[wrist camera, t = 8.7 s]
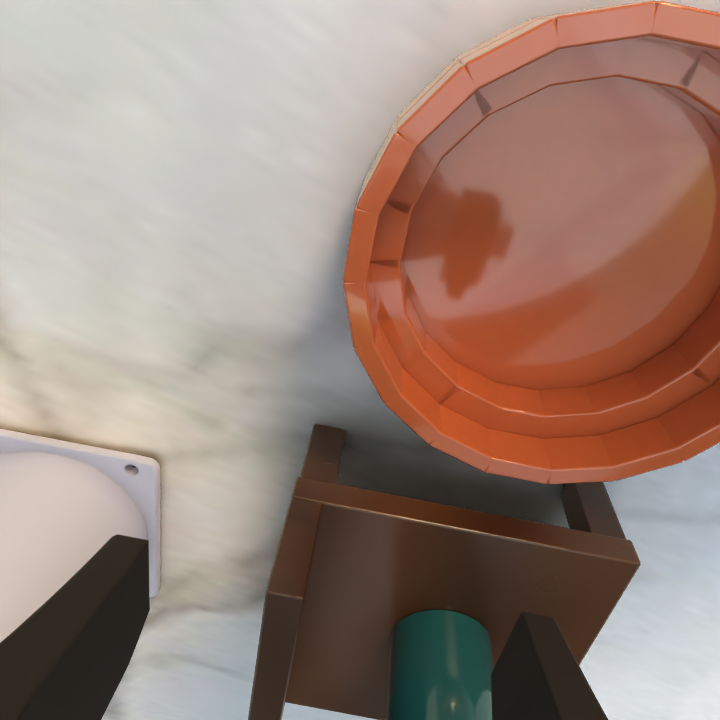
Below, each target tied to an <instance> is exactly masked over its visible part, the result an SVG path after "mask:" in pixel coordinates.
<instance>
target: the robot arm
mask: <svg viewBox="0 0 720 720" xmlns="http://www.w3.org/2000/svg"><path fill="white" fill-rule="evenodd" d="M131 465H133V466H135V467H136V468H137V469H136V468H133V467H132V466H131ZM160 553H161V468H160V465H159V464H158V462H157V461H156V460H154V459H153V458H150V457H146V456H141V455H135V454H130V453H125V452H120V451H115V450H109V449H104V448H99V447H94V446H89V445H83V444H78V443H73V442H68V441H63V440H57V439H52V438H47V437H42V436H37V435H31V434H26V433H21V432H16V431H10V430H5V429H0V720H101V719H102V717H103V715H104V713H105V711H106V709H107V707H108V705H109V703H110V701H111V699H112V697H113V695H114V693H115V691H116V689H117V687H118V685H119V683H120V681H121V679H122V677H123V675H124V673H125V671H126V669H127V667H128V665H129V662H130V660H131V657H132V654H133V652H134V649H135V647H136V644H137V642H138V639H139V636H140V634H141V631H142V628H143V626H144V623H145V620H146V618H147V615H148V612H149V610H150V606H149V598H153V597H155V596H157V594H158V592H159V590H160ZM491 698H492V720H608V718H607V717H606V715H605V713H604V711H603V709H602V708H601V706H600V704H599V702H598V700H597V699H596V697H595V695H594V693H593V691H592V689H591V687H590V686H589V684H588V682H587V680H586V678H585V676H584V674H583V672H582V671H581V669H580V667H579V665H578V663H577V661H576V659H575V657H574V655H573V653H572V651H571V649H570V648H569V646H568V644H567V642H566V640H565V638H564V636H563V634H562V632H561V630H560V628H559V626H558V624H557V622H556V621H555V619H554V618H553V617H549V616H544V615H539V614H534V613H528V612H523V611H522V612H521V614H520V616H519V618H518V620H517V622H516V624H515V626H514V628H513V630H512V632H511V634H510V636H509V638H508V640H507V642H506V644H505V646H504V649H503V651H502V653H501V655H500V657H499V659H498V661H497V663H496V665H495V667H494V669H493V671H492V673H491Z"/></svg>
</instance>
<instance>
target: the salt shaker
mask: <svg viewBox="0 0 720 720" xmlns="http://www.w3.org/2000/svg"><path fill="white" fill-rule="evenodd" d="M494 667H495V666H494V658H493V650H492V641H491V638H490V635H489V633H488V631H487V630H486V629H485V627H484V626H483V625H482V624H480V623H479V622H478V621H477V620H475V619H473V618H471V617H469V616H467V615H465V614H462V613H459V612H455V611H449V610H425V611H420V612H417V613H413V614H411V615H409V616H407V617H405V618H403V619H402V620H400V621H399V622H398V623H397V624H396V625H395V626H394V628H393V629H392V631H391V633H390V636H389V648H388V669H387V690H386V712H385V720H492V698H491V673H492V671H493V669H494Z"/></svg>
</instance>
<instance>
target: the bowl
mask: <svg viewBox="0 0 720 720" xmlns="http://www.w3.org/2000/svg"><path fill="white" fill-rule="evenodd" d="M343 288H344V294H345V300H346V307H347V313H348V319H349V325H350V331H351V337H352V343H353V346H354V350H355V352H356V354H357V356H358V357H359V359H360V361H361V363H362V365H363V367H364V368H365V370H366V372H367V374H368V376H369V377H370V379H371V381H372V383H373V385H374V387H375V388H376V390H377V392H378V394H379V396H380V398H381V399H382V401H383V402H384V403H385V405H386V406H387V407H388V408H389V409H390V410H392V411H393V412H394V413H395V414H396V415H397V416H398V417H399V418H400V419H401V420H402V421H403V422H404V423H406V424H407V425H408V426H409V427H410V428H411V429H412V430H413V431H414V432H415V433H416V434H417V435H418V436H420V437H421V438H422V439H423V440H424V441H425V442H426V443H427V444H429V445H430V446H431V447H433V448H436V449H438V450H440V451H442V452H444V453H446V454H448V455H450V456H452V457H454V458H456V459H458V460H460V461H462V462H464V463H466V464H468V465H470V466H472V467H474V468H476V469H479V470H481V471H483V472H484V471H485V472H486V473H490V474H496V475H501V476H506V477H511V478H516V479H521V480H527V481H532V482H537V483H542V484H547V483H548V484H567V483H587V482H608V481H614V480H621V479H625V478H628V477H632V476H635V475H639V474H642V473H646V472H649V471H653V470H657V469H660V468H664V467H667V466H671V465H674V464H678V463H681V462H683V460H684V461H686V460H688V459H690V458H692V457H694V456H696V455H697V454H699V453H701V452H703V451H705V450H707V449H709V448H710V447H712V446H714V445H716V444H718V443H720V13H718V12H713V11H708V10H703V9H698V8H693V7H688V6H684V5H679V4H674V3H669V2H664V1H647V2H638V3H630V4H621V5H612V6H606V7H599V8H593V9H587V10H581V11H574V12H568V13H562V14H555V15H549V16H543V17H537V18H532V19H531V20H526V21H524V22H522V23H521V24H519V25H517V26H515V27H513V28H511V29H509V30H507V31H505V32H503V33H501V34H499V35H498V36H496V37H494V38H492V39H490V40H488V41H486V42H484V43H482V44H480V45H478V46H477V47H475V48H473V49H471V50H469V51H467V52H465V53H463V54H461V55H459V56H458V57H457V58H456V59H454V60H453V61H452V62H451V63H450V64H449V65H448V66H447V67H446V68H445V69H444V70H443V71H442V72H441V73H440V74H439V75H438V76H437V77H436V78H435V79H434V80H433V81H432V82H431V83H430V84H429V85H428V86H427V87H426V88H425V89H424V90H423V91H422V92H421V93H420V94H419V95H418V96H417V97H416V98H415V99H414V100H413V101H412V102H411V103H410V104H409V105H408V106H407V107H406V108H405V109H404V110H403V111H402V112H401V113H400V115H399V116H398V117H397V119H396V120H395V122H394V124H393V126H392V128H391V130H390V132H389V134H388V136H387V138H386V140H385V141H384V143H383V145H382V147H381V149H380V151H379V153H378V155H377V157H376V159H375V160H374V162H373V164H372V166H371V168H370V170H369V172H368V174H367V176H366V178H365V181H364V184H363V187H362V189H361V192H360V195H359V198H358V201H357V204H356V207H355V210H354V215H353V221H352V227H351V233H350V239H349V245H348V251H347V256H346V262H345V268H344V274H343Z"/></svg>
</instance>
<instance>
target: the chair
mask: <svg viewBox="0 0 720 720" xmlns="http://www.w3.org/2000/svg"><path fill="white" fill-rule="evenodd" d="M345 434H346V431H345V430H342V429H337V428H332V427H326V426H321V425H314V427H313V430H312V434H311V438H310V442H309V446H308V450H307V453H306V457H305V461H304V465H303V469H302V472H301V476H300V477H297V479H296V482H295V486H294V490H293V493H292V497H291V501H290V504H289V508H288V512H287V515H286V519H285V523H284V527H283V530H282V534H281V538H280V541H279V545H278V549H277V553H276V556H275V560H274V564H273V567H272V571H271V575H270V579H269V582H268V586H267V590H266V595H265V602H264V609H263V616H262V624H261V631H260V638H259V645H258V652H257V659H256V666H255V674H254V681H253V688H252V695H251V702H250V709H249V716H248V720H282V715H283V710H284V705H285V702H287V703H293V704H298V705H303V706H309V707H314V708H319V709H324V710H330V711H335V712H340V713H346V714H351V715H356V716H362V717H367V718H372V719H378V720H385V712H386V690H387V669H388V648H389V636H390V633H391V631H392V629H393V628H394V626H395V625H396V624H397V623H398V622H399V621H400V620H402V619H403V618H405V617H407V616H409V615H411V614H413V613H417V612H420V611H425V610H449V611H455V612H459V613H462V614H465V615H467V616H469V617H471V618H473V619H475V620H477V621H478V622H479V623H480V624H482V625H483V626H484V627H485V629H486V630H487V631H488V633H489V635H490V638H491V641H492V650H493V658H494V666H495V665H496V663H497V661H498V659H499V657H500V655H501V653H502V651H503V649H504V646H505V644H506V642H507V640H508V638H509V636H510V634H511V632H512V630H513V628H514V626H515V624H516V622H517V620H518V618H519V616H520V614H521V612H522V611H523V612H528V613H534V614H539V615H544V616H549V617H553V618H554V619H555V621H556V622H557V624H558V626H559V628H560V630H561V632H562V634H563V636H564V638H565V640H566V642H567V644H568V646H569V648H570V649H571V651H572V653H573V655H574V657H575V659H576V661H577V663H578V665H580V663H581V661H582V660H583V658H584V657H585V655H586V653H587V652H588V650H589V648H590V647H591V645H592V643H593V642H594V640H595V638H596V637H597V635H598V634H599V632H600V630H601V629H602V627H603V625H604V624H605V622H606V620H607V619H608V617H609V615H610V614H611V612H612V611H613V609H614V607H615V606H616V604H617V602H618V601H619V599H620V597H621V596H622V594H623V592H624V591H625V589H626V587H627V586H628V584H629V583H630V581H631V579H632V578H633V576H634V574H635V573H636V571H637V569H638V568H639V566H640V560H639V558H638V555H637V553H636V551H635V548H634V546H633V543H632V542H631V541H630V540H627V539H626V538H625V535H624V533H623V530H622V528H621V525H620V523H619V520H618V518H617V515H616V513H615V511H614V508H613V506H612V503H611V501H610V498H609V496H608V493H607V491H606V489H605V486H604V484H603V482H587V483H567V484H566V485H565V488H564V490H563V492H562V494H561V496H560V498H561V501H562V505H563V508H564V511H565V514H566V518H567V521H568V524H569V528H570V529H569V528H564V527H559V526H554V525H548V524H543V523H538V522H533V521H528V520H522V519H517V518H512V517H507V516H502V515H496V514H491V513H486V512H481V511H476V510H470V509H465V508H460V507H455V506H450V505H444V504H439V503H434V502H429V501H424V500H418V499H413V498H408V497H403V496H398V495H392V494H387V493H382V492H377V491H372V490H366V489H361V488H356V487H351V486H346V485H340V484H337V479H338V474H339V468H340V463H341V457H342V451H343V446H344V440H345Z"/></svg>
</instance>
